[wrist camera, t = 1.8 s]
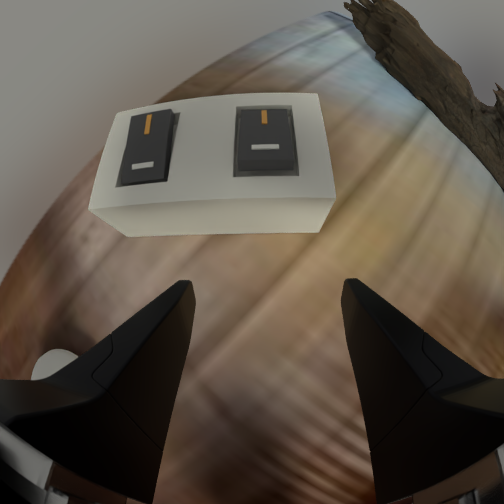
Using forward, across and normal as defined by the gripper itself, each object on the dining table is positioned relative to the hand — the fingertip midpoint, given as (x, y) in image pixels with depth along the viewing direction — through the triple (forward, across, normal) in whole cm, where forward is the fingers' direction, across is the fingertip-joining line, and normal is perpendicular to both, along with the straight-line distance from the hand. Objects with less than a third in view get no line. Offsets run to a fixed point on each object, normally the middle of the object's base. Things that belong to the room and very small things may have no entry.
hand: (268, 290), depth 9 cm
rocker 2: (+13, 0, -4) cm, 13 cm away
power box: (+20, +5, 0) cm, 20 cm away
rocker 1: (+13, +9, -4) cm, 16 cm away
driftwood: (+24, -29, -4) cm, 38 cm away
